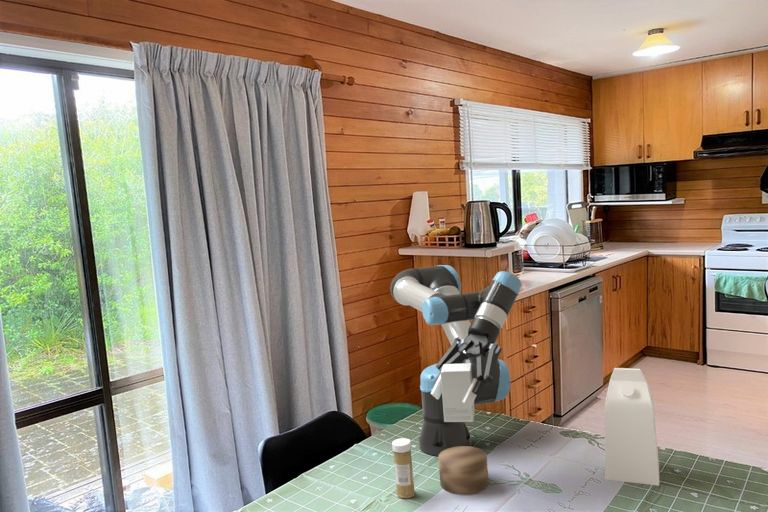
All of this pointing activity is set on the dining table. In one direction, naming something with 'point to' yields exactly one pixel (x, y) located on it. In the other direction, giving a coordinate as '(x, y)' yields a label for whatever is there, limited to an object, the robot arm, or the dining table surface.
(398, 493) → the sprinkles bottle
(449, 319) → the robot arm
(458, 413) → the supplement box
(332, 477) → the dining table surface
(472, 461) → the brown cylinder
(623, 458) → the milk
